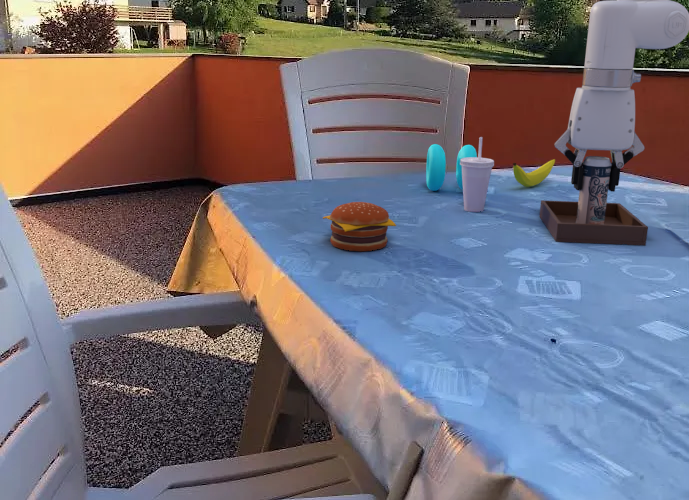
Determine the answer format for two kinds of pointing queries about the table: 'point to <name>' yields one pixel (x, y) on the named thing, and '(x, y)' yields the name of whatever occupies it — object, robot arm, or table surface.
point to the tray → (592, 225)
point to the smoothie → (475, 180)
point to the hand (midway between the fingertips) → (593, 188)
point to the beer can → (594, 190)
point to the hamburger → (359, 226)
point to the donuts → (444, 165)
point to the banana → (532, 174)
